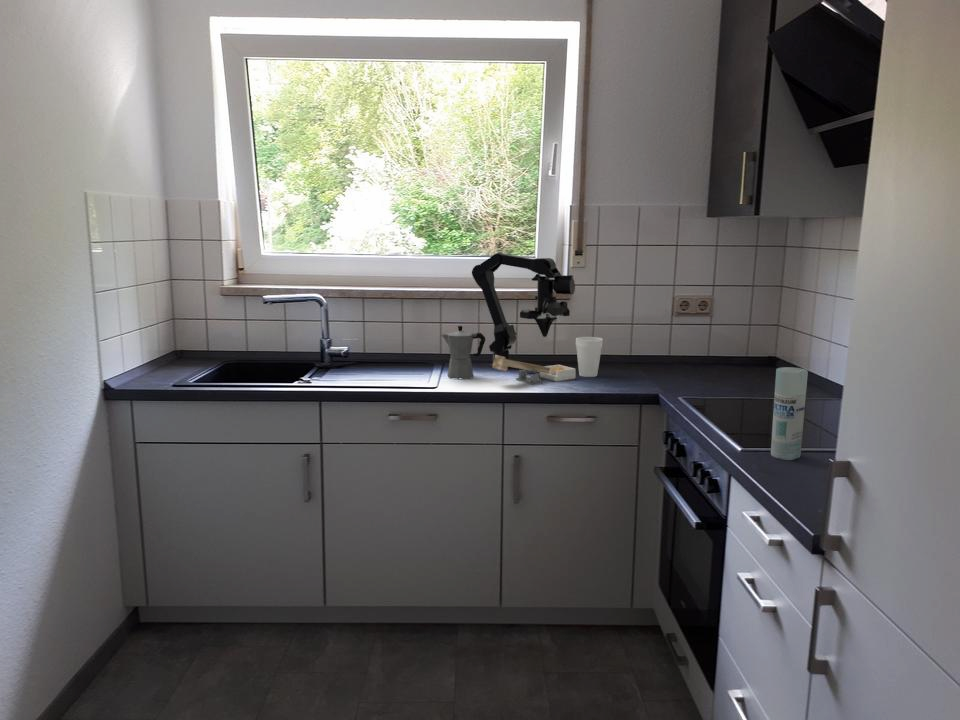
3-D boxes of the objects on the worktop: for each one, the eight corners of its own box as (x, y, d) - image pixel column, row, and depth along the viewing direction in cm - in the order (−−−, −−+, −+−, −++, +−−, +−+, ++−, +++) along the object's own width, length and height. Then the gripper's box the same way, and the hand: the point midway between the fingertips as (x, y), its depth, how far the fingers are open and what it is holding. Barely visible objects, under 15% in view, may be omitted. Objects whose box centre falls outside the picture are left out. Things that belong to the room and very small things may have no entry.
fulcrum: (515, 379, 249) (515, 370, 248) (525, 378, 251) (525, 369, 251) (531, 384, 241) (531, 374, 241) (542, 382, 244) (542, 373, 243)
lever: (475, 362, 249) (477, 350, 249) (529, 372, 262) (532, 360, 262) (503, 370, 235) (506, 357, 234) (559, 380, 248) (562, 368, 248)
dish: (539, 376, 253) (539, 367, 253) (558, 374, 258) (558, 364, 257) (555, 381, 246) (556, 371, 245) (575, 378, 250) (575, 368, 250)
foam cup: (593, 378, 250) (594, 341, 248) (570, 375, 256) (570, 339, 253) (606, 374, 258) (607, 338, 255) (583, 371, 263) (584, 336, 261)
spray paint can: (764, 454, 166) (770, 369, 162) (780, 449, 170) (787, 366, 166) (790, 462, 161) (797, 373, 157) (806, 457, 164) (814, 370, 161)
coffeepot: (439, 378, 250) (438, 327, 247) (444, 373, 260) (444, 323, 256) (483, 380, 248) (483, 328, 245) (487, 374, 257) (487, 324, 254)
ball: (562, 369, 256) (557, 376, 255) (556, 364, 254) (552, 371, 253) (567, 371, 253) (563, 378, 252) (562, 365, 251) (557, 373, 251)
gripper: (538, 296, 248) (537, 341, 251) (580, 293, 258) (579, 337, 261) (519, 294, 257) (518, 337, 260) (560, 291, 267) (559, 333, 270)
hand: (544, 336), depth 262 cm, fingers closed
